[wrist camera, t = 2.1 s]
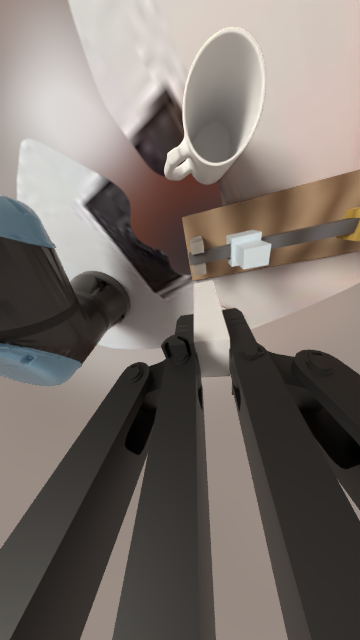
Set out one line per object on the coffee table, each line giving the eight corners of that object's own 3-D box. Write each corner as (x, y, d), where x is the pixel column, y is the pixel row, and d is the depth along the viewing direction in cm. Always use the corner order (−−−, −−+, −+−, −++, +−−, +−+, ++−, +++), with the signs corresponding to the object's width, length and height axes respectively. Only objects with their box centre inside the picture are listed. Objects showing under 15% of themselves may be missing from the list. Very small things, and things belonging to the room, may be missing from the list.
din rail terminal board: (192, 278, 33) (192, 295, 26) (182, 217, 26) (178, 217, 19) (355, 249, 27) (413, 260, 20) (397, 159, 20) (510, 127, 13)
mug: (224, 105, 19) (257, -14, 9) (237, 169, 22) (271, 132, 12) (161, 159, 22) (136, 114, 12) (181, 207, 25) (173, 202, 16)
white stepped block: (226, 260, 25) (238, 276, 19) (226, 235, 23) (239, 243, 16) (250, 255, 25) (271, 270, 18) (252, 229, 22) (277, 234, 16)
